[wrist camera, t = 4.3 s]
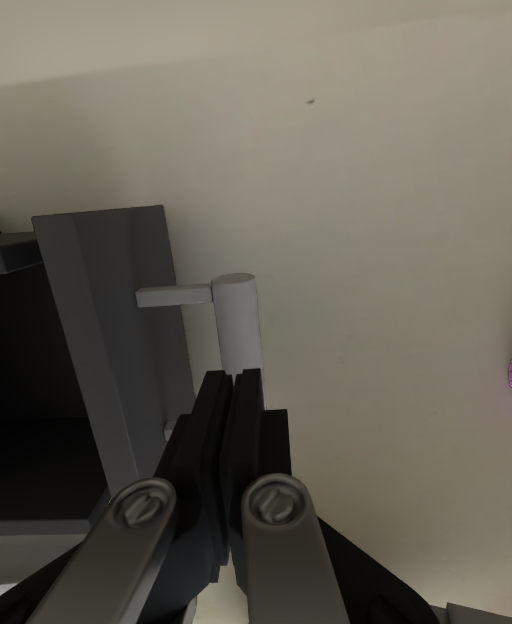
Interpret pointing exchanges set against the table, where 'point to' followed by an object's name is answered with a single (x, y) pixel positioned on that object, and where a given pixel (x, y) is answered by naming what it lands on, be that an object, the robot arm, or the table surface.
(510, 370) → the bracket
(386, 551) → the table surface
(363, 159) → the table surface
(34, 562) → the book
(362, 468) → the table surface
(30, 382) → the dark grey drawer
